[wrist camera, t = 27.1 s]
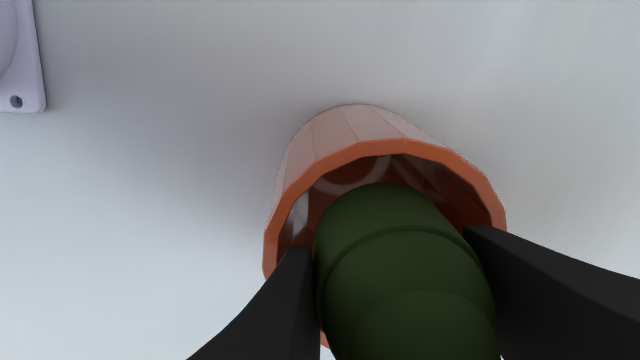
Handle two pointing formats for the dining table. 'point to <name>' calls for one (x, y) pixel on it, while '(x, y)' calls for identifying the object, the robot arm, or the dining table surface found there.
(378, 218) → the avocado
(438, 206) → the cup
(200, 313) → the dining table surface
